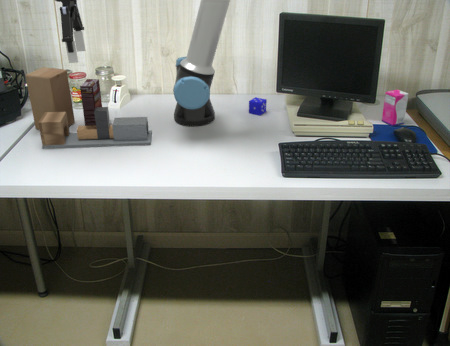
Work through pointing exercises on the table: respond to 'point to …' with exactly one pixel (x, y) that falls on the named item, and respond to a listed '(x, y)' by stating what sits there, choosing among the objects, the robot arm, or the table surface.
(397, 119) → the supplement box
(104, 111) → the brown piece
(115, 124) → the sleeve
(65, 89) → the wooden block
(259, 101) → the die
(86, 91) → the supplement box
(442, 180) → the table surface
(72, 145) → the base board
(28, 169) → the table surface
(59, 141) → the socket block
